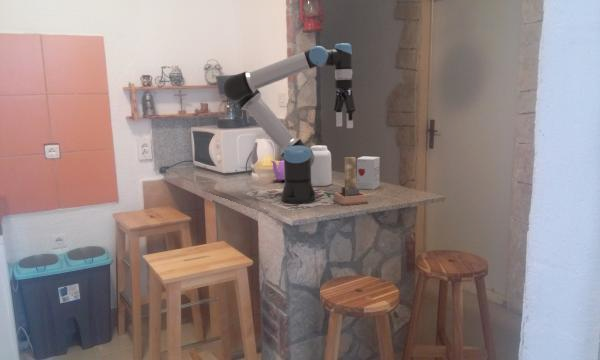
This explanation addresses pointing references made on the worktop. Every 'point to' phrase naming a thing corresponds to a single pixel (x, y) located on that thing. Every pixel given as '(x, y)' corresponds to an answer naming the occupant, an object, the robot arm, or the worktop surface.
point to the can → (321, 166)
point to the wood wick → (350, 173)
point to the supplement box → (368, 172)
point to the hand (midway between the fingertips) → (344, 127)
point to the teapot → (279, 170)
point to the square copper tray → (350, 197)
